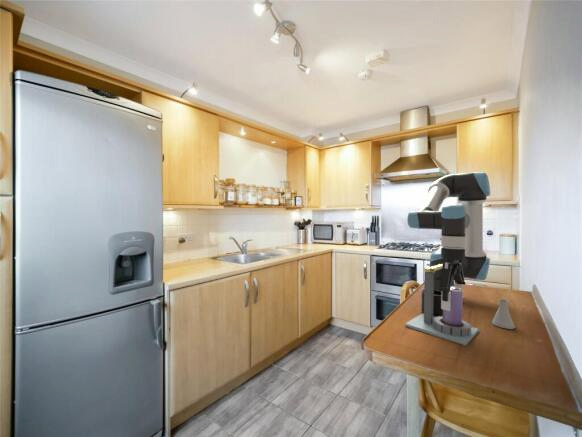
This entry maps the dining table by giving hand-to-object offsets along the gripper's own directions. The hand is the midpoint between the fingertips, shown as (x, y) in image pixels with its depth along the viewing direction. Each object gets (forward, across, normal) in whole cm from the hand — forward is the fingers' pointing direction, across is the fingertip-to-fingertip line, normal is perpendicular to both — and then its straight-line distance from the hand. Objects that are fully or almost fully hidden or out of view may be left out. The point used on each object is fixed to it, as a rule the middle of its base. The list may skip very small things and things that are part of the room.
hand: (452, 305), depth 97 cm
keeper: (-11, -6, -8) cm, 15 cm away
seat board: (+10, 0, -3) cm, 10 cm away
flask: (+10, -21, +12) cm, 26 cm away
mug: (+10, -15, -10) cm, 21 cm away
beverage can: (+9, 0, 0) cm, 9 cm away
